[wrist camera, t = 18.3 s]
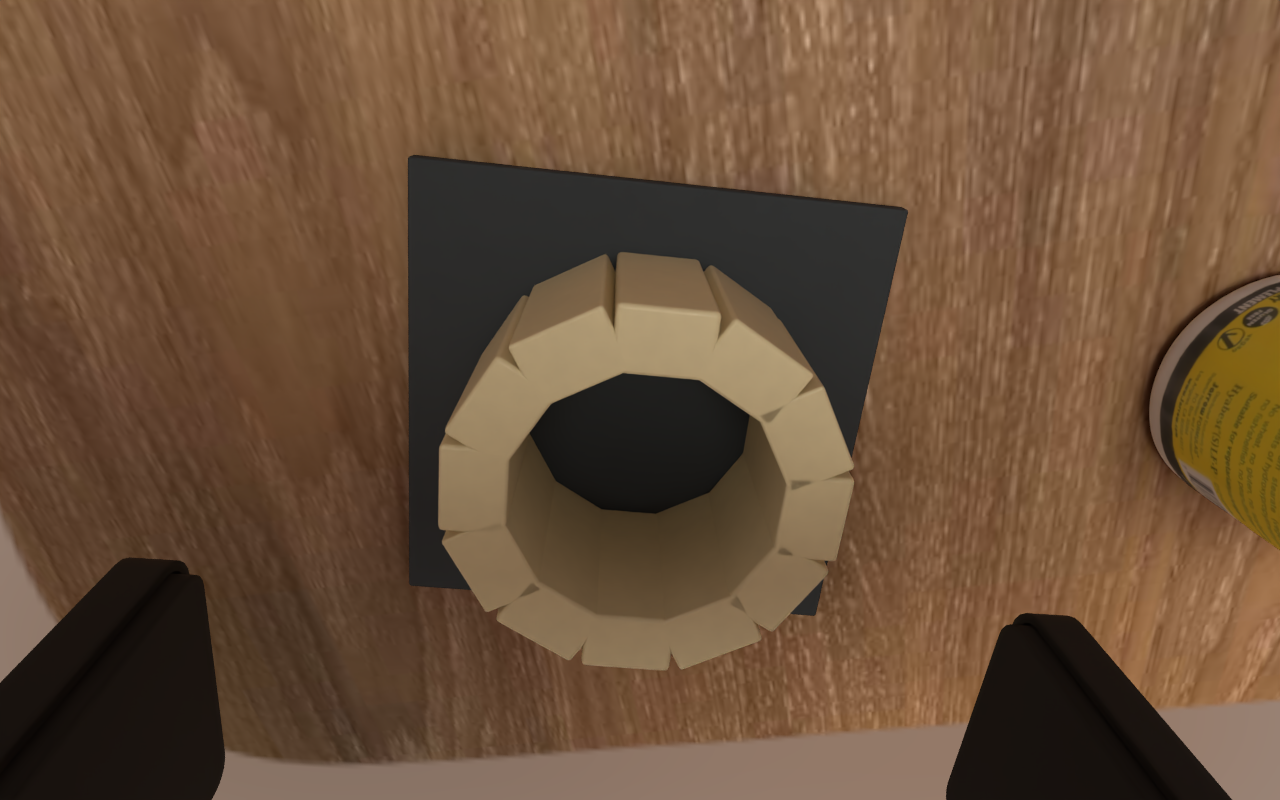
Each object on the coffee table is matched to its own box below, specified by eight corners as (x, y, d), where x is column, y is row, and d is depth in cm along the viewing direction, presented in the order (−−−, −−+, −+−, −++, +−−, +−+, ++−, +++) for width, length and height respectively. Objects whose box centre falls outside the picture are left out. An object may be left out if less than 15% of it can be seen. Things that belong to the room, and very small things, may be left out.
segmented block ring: (472, 541, 19) (435, 656, 15) (481, 236, 16) (439, 285, 12) (772, 565, 19) (809, 682, 15) (831, 272, 16) (892, 329, 13)
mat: (412, 576, 20) (408, 586, 19) (412, 154, 16) (407, 156, 15) (812, 606, 20) (815, 616, 20) (902, 206, 16) (909, 210, 16)
